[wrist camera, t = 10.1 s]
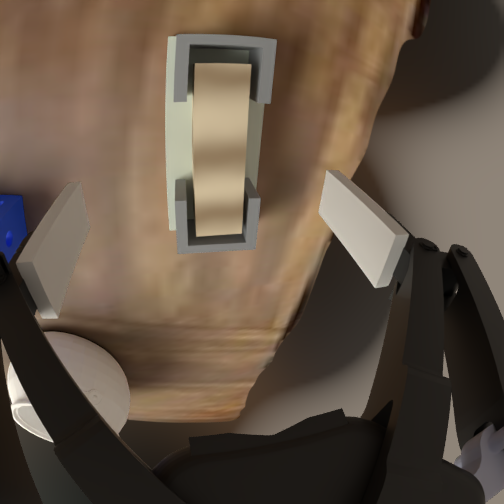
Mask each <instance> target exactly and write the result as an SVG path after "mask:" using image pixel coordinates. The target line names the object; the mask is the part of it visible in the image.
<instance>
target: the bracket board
mask: <svg viewBox="0 0 504 504" xmlns="http://www.w3.org/2000/svg"><path fill="white" fill-rule="evenodd" d="M276 45H277V39H269V38H261V37H250V36H238V35H219V34H177V36H170V37H168V48H167V68H166V105H165V139H166V177H167V199H168V215H169V230H170V231H171V230H176V235H177V249H178V254H186V253H203V252H219V251H236V250H253V249H256V239H257V230H258V220H259V211H260V201H261V198H260V196H259V194H258V192H257V191H256V187H257V176H258V166H259V155H260V145H261V134H262V124H263V114H264V103H266V104H271V94H272V84H273V75H274V65H275V55H276ZM195 63H232V64H251V78H250V94H249V111H248V127H247V145H246V163H245V181H244V200H243V220H242V234H227V235H213V236H199V237H196V228H195V219H194V206H193V174H192V83H193V64H195Z"/></svg>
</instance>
